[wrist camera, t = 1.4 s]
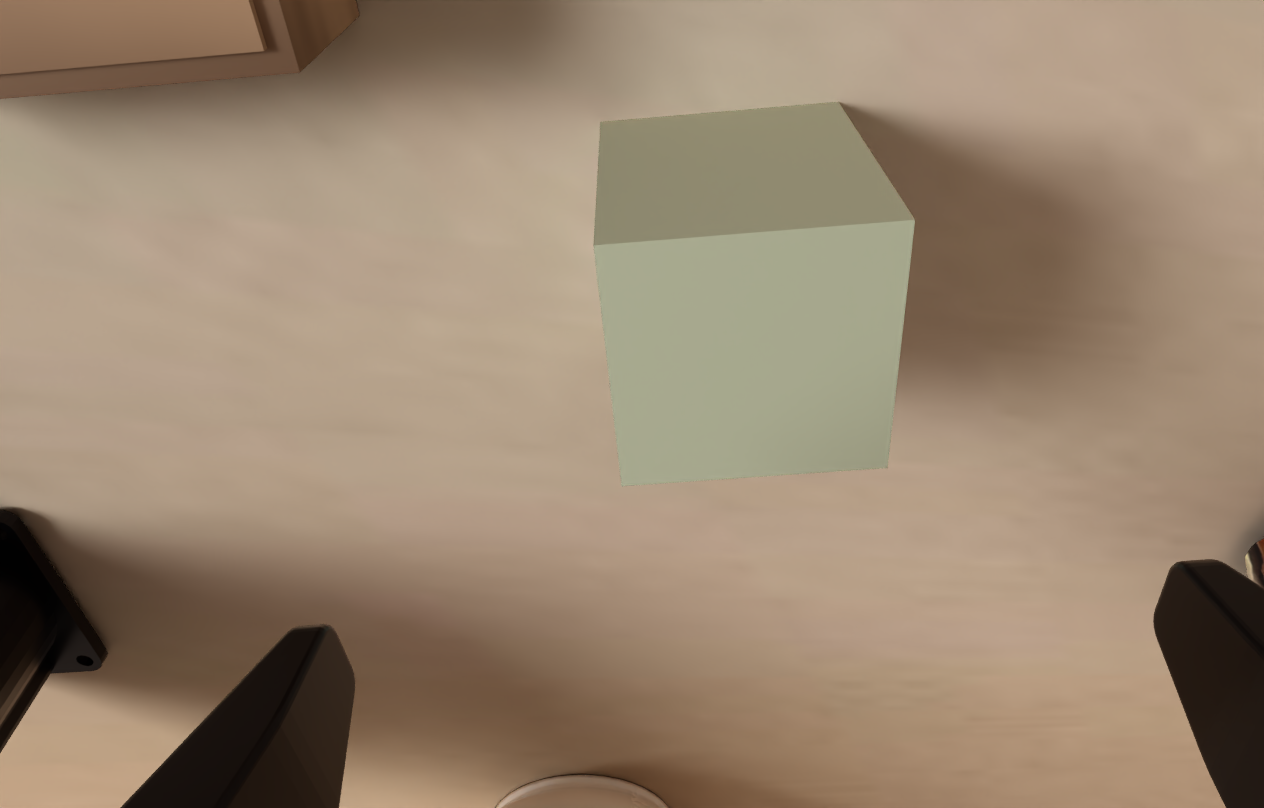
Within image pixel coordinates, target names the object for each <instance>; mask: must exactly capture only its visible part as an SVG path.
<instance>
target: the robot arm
mask: <svg viewBox="0 0 1264 808" xmlns="http://www.w3.org/2000/svg"><path fill="white" fill-rule="evenodd" d="M1153 622H1154V630H1155V634H1156V637H1157V640H1158V643H1159V645H1160V648H1161V650H1162V653H1163V656H1164V658H1165V661H1166V664H1167V666H1168V669H1169V671H1170V674H1171V677H1172V679H1173V682H1174V684H1175V687H1176V690H1177V692H1178V695H1179V698H1180V700H1181V703H1182V705H1183V708H1184V711H1185V713H1186V716H1187V719H1188V721H1189V724H1190V726H1191V729H1192V732H1193V734H1194V737H1195V739H1196V742H1197V745H1198V747H1199V750H1200V752H1201V755H1202V757H1203V760H1204V762H1205V764H1206V767H1207V769H1208V772H1209V774H1210V776H1211V778H1212V780H1213V782H1214V784H1215V786H1216V788H1217V790H1218V792H1219V794H1220V796H1221V798H1222V800H1223V802H1224V804H1225V806H1226V808H1264V588H1263V587H1261V586H1260V585H1258V584H1257V583H1255V582H1253V581H1252V580H1250V579H1249V578H1247V577H1246V576H1244V575H1242V574H1241V573H1239V572H1238V571H1236V570H1235V569H1233V568H1231V567H1230V566H1228V565H1227V564H1225V563H1223V562H1221V561H1218V560H1213V559H1205V560H1191V561H1180V562H1177V563H1175V564H1174V565H1173V566H1172V567H1171V568H1170V570H1169V572H1168V575H1167V578H1166V581H1165V584H1164V586H1163V589H1162V592H1161V595H1160V598H1159V600H1158V603H1157V606H1156V609H1155V612H1154V620H1153ZM107 654H108V653H107V650H106V648H105V647H104V645H103V643H102V642H101V640H100V639H99V637H98V636H97V634H96V633H95V631H94V630H93V628H92V627H91V625H90V624H89V622H88V621H87V619H86V617H85V616H84V614H83V613H82V611H81V610H80V608H79V607H78V605H77V604H76V602H75V601H74V599H73V598H72V596H71V595H70V593H69V591H68V590H67V588H66V587H65V585H64V584H63V582H62V581H61V579H60V578H59V576H58V575H57V573H56V572H55V570H54V569H53V567H52V565H51V564H50V562H49V561H48V559H47V558H46V556H45V555H44V553H43V552H42V550H41V549H40V547H39V546H38V544H37V543H36V541H35V539H34V538H33V536H32V535H31V533H30V532H29V530H28V529H27V527H26V526H25V524H24V523H23V521H22V520H21V519H20V518H19V517H17V516H16V515H14V514H13V513H10V512H7V511H2V510H0V753H1V751H2V750H3V748H4V746H5V745H6V743H7V742H8V740H9V738H10V737H11V735H12V734H13V732H14V731H15V729H16V727H17V726H18V724H19V723H20V721H21V719H22V718H23V716H24V715H25V713H26V711H27V710H28V708H29V707H30V705H31V703H32V702H33V700H34V699H35V697H36V696H37V694H38V692H39V691H40V689H41V688H42V686H43V684H44V683H45V681H46V680H47V678H48V676H49V675H50V673H65V672H82V671H94V670H97V669H99V668H100V667H101V666H102V664H103V662H104V661H105V659H106V657H107ZM354 693H355V678H354V672H353V669H352V666H351V664H350V662H349V660H348V658H347V655H346V653H345V651H344V649H343V646H342V644H341V642H340V640H339V638H338V635H337V633H336V631H335V630H334V628H332V627H331V626H330V625H326V624H320V625H307V626H298V627H295V628H293V629H291V630H290V631H288V632H287V633H286V634H285V635H284V636H283V637H282V638H281V639H280V640H279V642H278V643H277V644H276V645H275V646H274V647H273V648H272V649H271V650H270V651H269V652H268V653H267V654H266V655H265V656H264V657H263V658H262V659H261V660H260V662H259V663H258V664H257V665H256V666H255V667H254V668H253V669H252V670H251V671H250V672H249V673H248V674H247V675H246V676H245V677H244V678H243V679H242V680H241V682H240V683H239V684H238V685H237V686H236V687H235V688H234V689H233V690H232V691H231V692H230V693H229V694H228V695H227V696H226V697H225V698H224V699H223V700H222V702H221V703H220V704H219V705H218V706H217V707H216V708H215V709H214V710H213V711H212V712H211V713H210V714H209V715H208V716H207V717H206V718H205V719H204V720H203V722H202V723H201V724H200V725H199V726H198V727H197V728H196V729H195V730H194V731H193V732H192V733H191V734H190V735H189V736H188V737H187V738H186V739H185V740H184V741H183V743H182V744H181V745H180V746H179V747H178V748H177V749H176V750H175V751H174V752H173V753H172V754H171V755H170V756H169V757H168V758H167V759H166V760H165V761H164V763H163V764H162V765H161V766H160V767H159V768H158V769H157V770H156V771H155V772H154V773H153V774H152V775H151V776H150V777H149V778H148V779H147V780H146V781H145V783H144V784H143V785H142V786H141V787H140V788H139V789H138V790H137V791H136V792H135V793H134V794H133V795H132V796H131V797H130V798H129V799H128V800H127V801H126V803H125V804H124V805H123V806H122V807H121V808H339V803H340V796H341V789H342V781H343V774H344V767H345V759H346V752H347V744H348V737H349V730H350V722H351V715H352V708H353V700H354Z"/></svg>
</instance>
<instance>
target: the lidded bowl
mask: <svg viewBox="0 0 1264 808" xmlns="http://www.w3.org/2000/svg"><path fill="white" fill-rule="evenodd" d="M495 808H669V807H668V806H667V805H666V804H665V803H664V802H663V800H662V799H660V798H659V797H658V796H656V795H655V794H654V793H652V792H650V791H649V790H647V789H645V788H643V787H641V786H639V785H636V784H634V783H631V782H628V781H624V780H621V779H617V778H611V777H606V776H597V775H565V776H556V777H551V778H546V779H542V780H538V781H535V782H532V783H529V784H527V785H524V786H522V787H520V788H518V789H516V790H514V791H513V792H511V793H509V794H508V795H507V796H506V797H505V798H503V799H502V800H501V801H500V802H499V804H498V805H497V806H496V807H495Z"/></svg>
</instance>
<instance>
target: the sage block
mask: <svg viewBox="0 0 1264 808" xmlns="http://www.w3.org/2000/svg"><path fill="white" fill-rule="evenodd" d="M914 225H915V219H914V217H913V216H912V214H911V213H910V211H909V210H908V208H907V207H906V205H905V203H904V202H903V200H902V199H901V197H900V196H899V194H898V193H897V191H896V190H895V188H894V187H893V185H892V183H891V182H890V180H889V179H888V177H887V176H886V174H885V173H884V171H883V170H882V168H881V167H880V165H879V163H878V162H877V160H876V159H875V157H874V156H873V154H872V153H871V151H870V150H869V148H868V147H867V145H866V143H865V142H864V140H863V139H862V137H861V136H860V134H859V133H858V131H857V130H856V128H855V127H854V125H853V123H852V122H851V120H850V119H849V117H848V116H847V114H846V113H845V111H844V110H843V108H842V107H841V105H840V103H839V102H830V103H819V104H807V105H795V106H783V107H771V108H760V109H748V110H736V111H724V112H712V113H701V114H689V115H677V116H665V117H653V118H642V119H630V120H618V121H606V122H600V139H599V157H598V175H597V192H596V210H595V228H594V254H595V262H596V271H597V280H598V288H599V297H600V305H601V314H602V322H603V331H604V340H605V348H606V357H607V365H608V374H609V382H610V391H611V400H612V408H613V417H614V425H615V434H616V443H617V451H618V460H619V468H620V477H621V485H622V486H633V485H647V484H662V483H676V482H691V481H705V480H720V479H734V478H749V477H763V476H778V475H792V474H807V473H821V472H836V471H851V470H865V469H880V468H887V467H888V458H889V449H890V440H891V431H892V422H893V413H894V404H895V396H896V387H897V378H898V369H899V360H900V351H901V342H902V333H903V324H904V315H905V306H906V297H907V288H908V279H909V270H910V261H911V252H912V243H913V234H914Z"/></svg>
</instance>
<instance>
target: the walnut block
mask: <svg viewBox="0 0 1264 808" xmlns="http://www.w3.org/2000/svg"><path fill="white" fill-rule="evenodd" d="M359 16H360V15H359V11H358V7H357V3H356V0H0V99H3V98H14V97H26V96H37V95H49V94H60V93H72V92H83V91H94V90H106V89H117V88H129V87H140V86H151V85H163V84H174V83H186V82H197V81H209V80H220V79H231V78H243V77H254V76H266V75H277V74H288V73H300V72H301V71H302V70H303V69H304V68H305V67H306V66H307V65H308V64H309V63H310V62H311V61H312V60H313V59H315V58H316V57H317V56H318V55H319V54H320V53H321V52H322V51H323V50H324V49H325V48H326V47H327V46H328V45H329V44H330V43H331V42H332V41H333V40H334V39H335V38H337V37H338V36H339V35H340V34H341V33H342V32H343V31H344V30H345V29H346V28H347V27H348V26H349V25H350V24H351V23H352V22H353V21H354V20H355V19H356V18H357V17H359Z"/></svg>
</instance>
